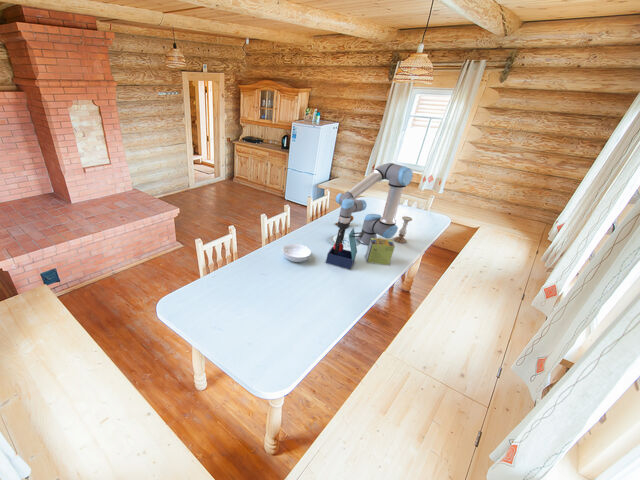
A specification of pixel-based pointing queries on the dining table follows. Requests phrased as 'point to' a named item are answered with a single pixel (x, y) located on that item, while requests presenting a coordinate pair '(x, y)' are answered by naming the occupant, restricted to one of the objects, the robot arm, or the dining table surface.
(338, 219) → the teddy bear
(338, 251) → the apple
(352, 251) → the lid
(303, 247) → the serving bowl
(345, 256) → the lunchbox
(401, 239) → the candle holder
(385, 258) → the protein box
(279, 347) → the dining table surface
